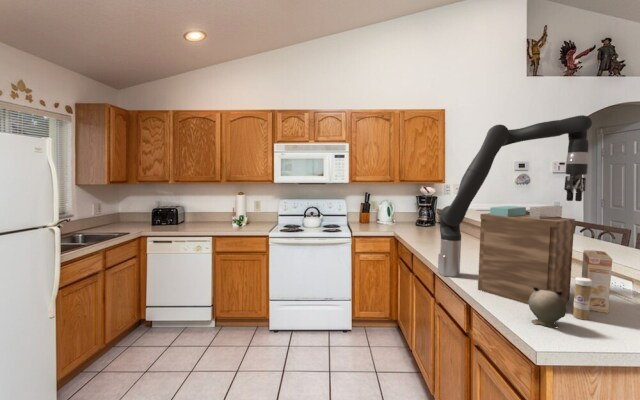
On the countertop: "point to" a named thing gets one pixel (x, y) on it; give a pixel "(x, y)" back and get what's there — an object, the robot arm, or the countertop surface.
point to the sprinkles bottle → (582, 298)
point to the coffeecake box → (598, 278)
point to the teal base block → (507, 211)
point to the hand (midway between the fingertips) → (574, 201)
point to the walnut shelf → (525, 255)
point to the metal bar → (545, 211)
